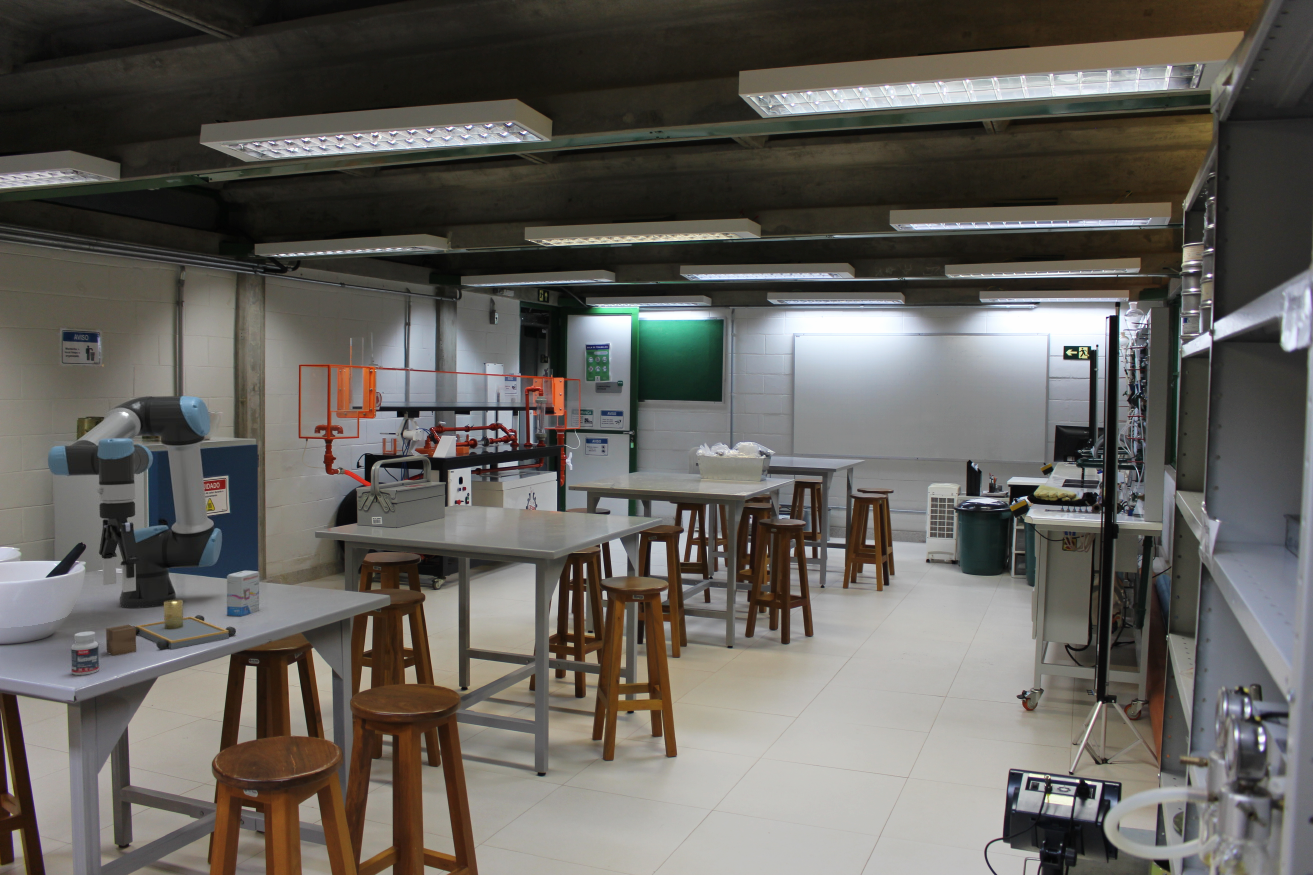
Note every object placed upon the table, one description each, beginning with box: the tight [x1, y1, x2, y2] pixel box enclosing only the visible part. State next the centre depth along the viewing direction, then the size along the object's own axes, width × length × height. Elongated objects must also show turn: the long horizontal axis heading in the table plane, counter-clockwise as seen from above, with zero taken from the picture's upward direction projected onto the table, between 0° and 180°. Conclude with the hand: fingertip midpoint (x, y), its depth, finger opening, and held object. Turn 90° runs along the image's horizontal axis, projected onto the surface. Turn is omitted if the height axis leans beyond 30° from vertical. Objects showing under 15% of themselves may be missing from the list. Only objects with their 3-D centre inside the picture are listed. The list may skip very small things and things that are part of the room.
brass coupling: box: [163, 598, 184, 629], centre depth 242 cm, size 4×4×7 cm
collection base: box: [132, 614, 237, 650], centre depth 239 cm, size 24×19×2 cm
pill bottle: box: [70, 631, 100, 676], centre depth 207 cm, size 5×5×9 cm
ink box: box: [226, 570, 260, 617], centre depth 265 cm, size 8×5×12 cm, turn 168°
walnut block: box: [105, 624, 137, 657], centre depth 224 cm, size 5×5×6 cm
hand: (119, 587), depth 223 cm, fingers open, 13 cm apart
